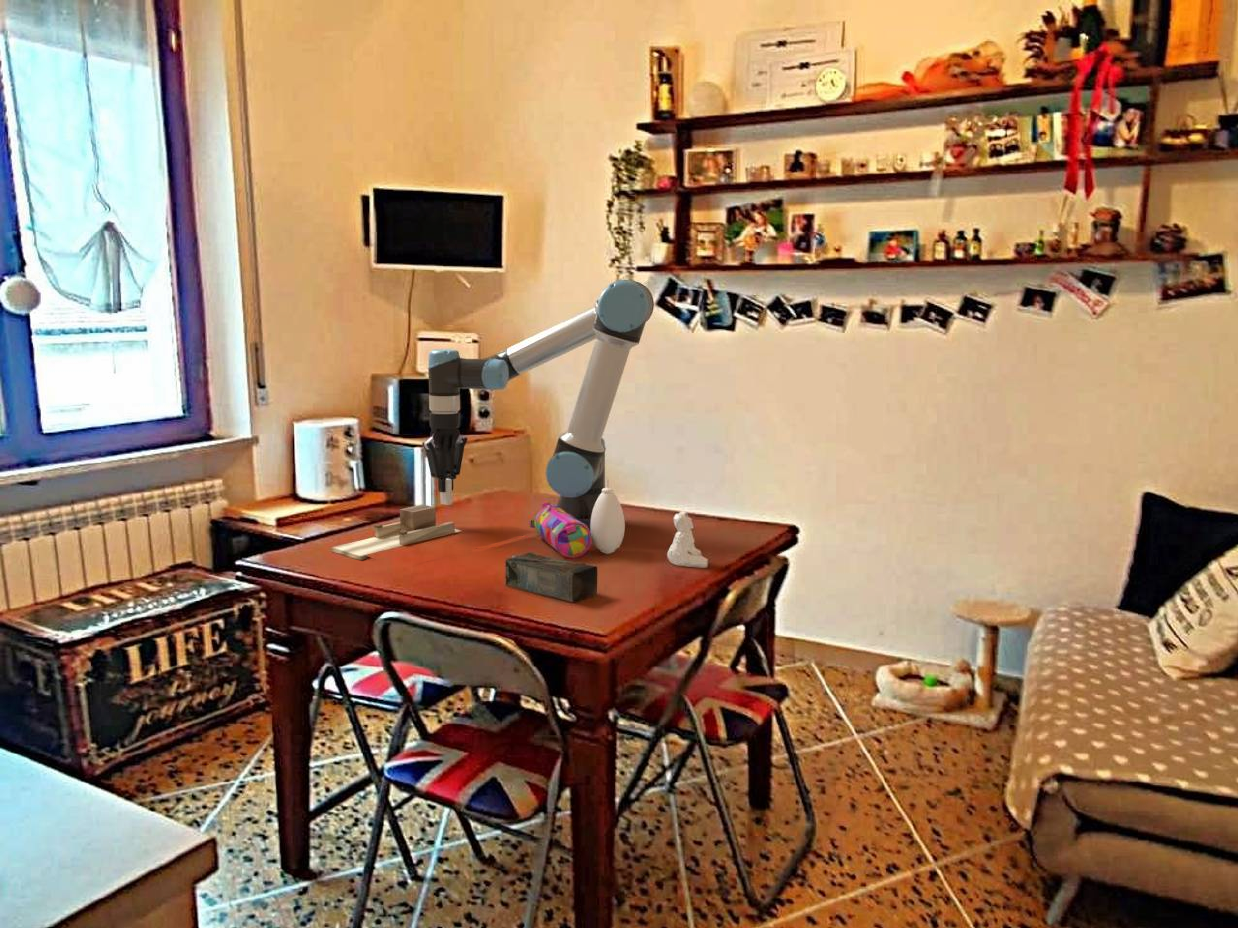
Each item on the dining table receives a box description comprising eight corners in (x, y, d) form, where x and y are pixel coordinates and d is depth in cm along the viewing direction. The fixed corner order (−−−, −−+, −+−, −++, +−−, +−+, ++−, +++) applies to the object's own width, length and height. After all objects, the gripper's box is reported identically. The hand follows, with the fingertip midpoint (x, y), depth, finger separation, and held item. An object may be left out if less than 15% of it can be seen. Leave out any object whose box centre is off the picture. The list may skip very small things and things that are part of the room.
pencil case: (529, 538, 235) (528, 503, 233) (565, 535, 238) (564, 500, 236) (556, 562, 215) (556, 523, 213) (595, 557, 218) (595, 519, 217)
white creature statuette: (709, 568, 210) (711, 515, 207) (671, 570, 208) (672, 517, 206) (699, 556, 219) (700, 506, 217) (662, 558, 217) (663, 507, 215)
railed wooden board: (461, 534, 238) (461, 518, 237) (360, 560, 215) (359, 542, 214) (432, 527, 245) (432, 511, 244) (331, 551, 222) (330, 534, 222)
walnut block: (436, 532, 236) (435, 507, 234) (413, 538, 230) (412, 512, 229) (423, 529, 239) (422, 504, 238) (400, 535, 233) (399, 509, 232)
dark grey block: (530, 577, 203) (529, 547, 202) (599, 595, 192) (599, 563, 191) (504, 586, 197) (503, 556, 196) (574, 605, 186) (574, 573, 185)
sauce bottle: (603, 546, 227) (603, 472, 224) (630, 551, 223) (631, 476, 219) (584, 553, 221) (583, 478, 217) (611, 559, 216) (611, 482, 213)
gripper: (454, 408, 244) (456, 497, 248) (414, 412, 234) (416, 505, 238) (474, 411, 239) (475, 502, 243) (433, 415, 229) (435, 510, 233)
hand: (446, 503), depth 241 cm, fingers closed
